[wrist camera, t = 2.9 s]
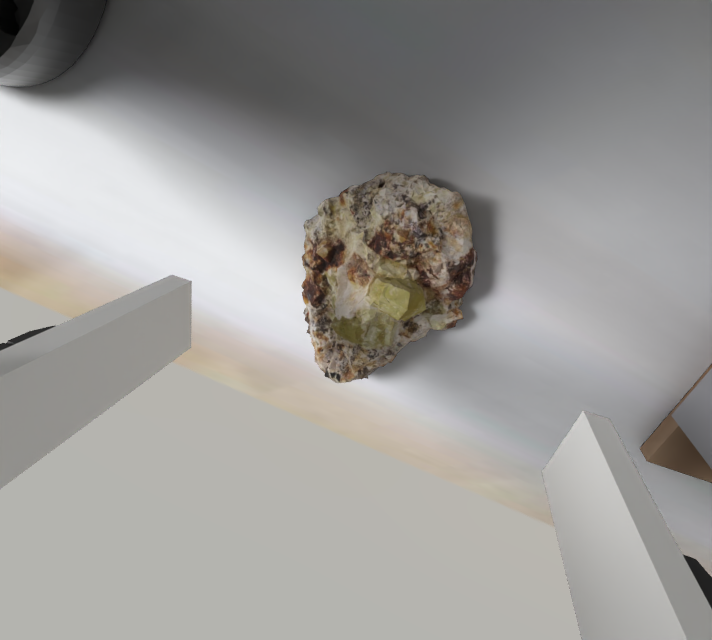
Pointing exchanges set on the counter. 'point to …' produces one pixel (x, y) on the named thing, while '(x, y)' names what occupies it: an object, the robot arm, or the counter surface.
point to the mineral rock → (384, 271)
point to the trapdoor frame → (676, 447)
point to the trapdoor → (698, 417)
